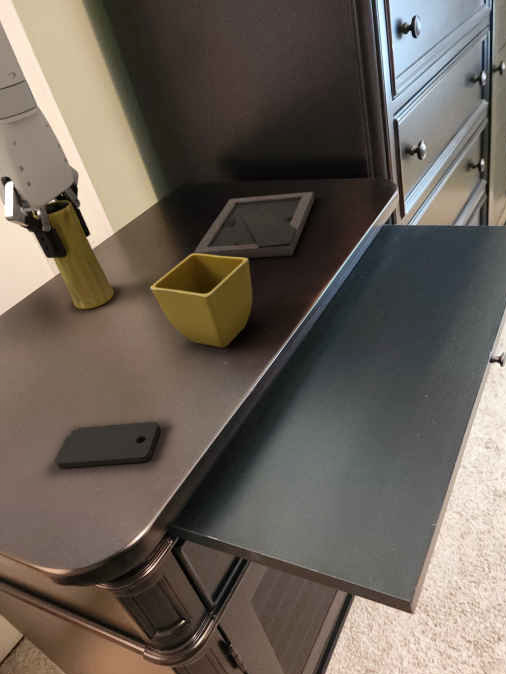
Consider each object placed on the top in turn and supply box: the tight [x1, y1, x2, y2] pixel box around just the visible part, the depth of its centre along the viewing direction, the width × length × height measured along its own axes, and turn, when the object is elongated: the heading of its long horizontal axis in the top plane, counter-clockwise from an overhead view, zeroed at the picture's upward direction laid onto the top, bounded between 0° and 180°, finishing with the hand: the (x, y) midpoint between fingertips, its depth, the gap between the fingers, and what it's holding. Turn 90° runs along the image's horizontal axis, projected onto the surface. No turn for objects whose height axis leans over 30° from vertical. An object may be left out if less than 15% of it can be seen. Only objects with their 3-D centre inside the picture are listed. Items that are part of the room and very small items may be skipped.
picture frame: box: [193, 191, 315, 259], centre depth 89 cm, size 16×2×21 cm
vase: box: [32, 200, 115, 310], centre depth 75 cm, size 6×6×14 cm
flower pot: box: [150, 252, 253, 349], centre depth 64 cm, size 9×9×9 cm
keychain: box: [54, 421, 161, 469], centre depth 54 cm, size 5×1×10 cm
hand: (68, 245), depth 74 cm, fingers closed on vase, 5 cm apart
